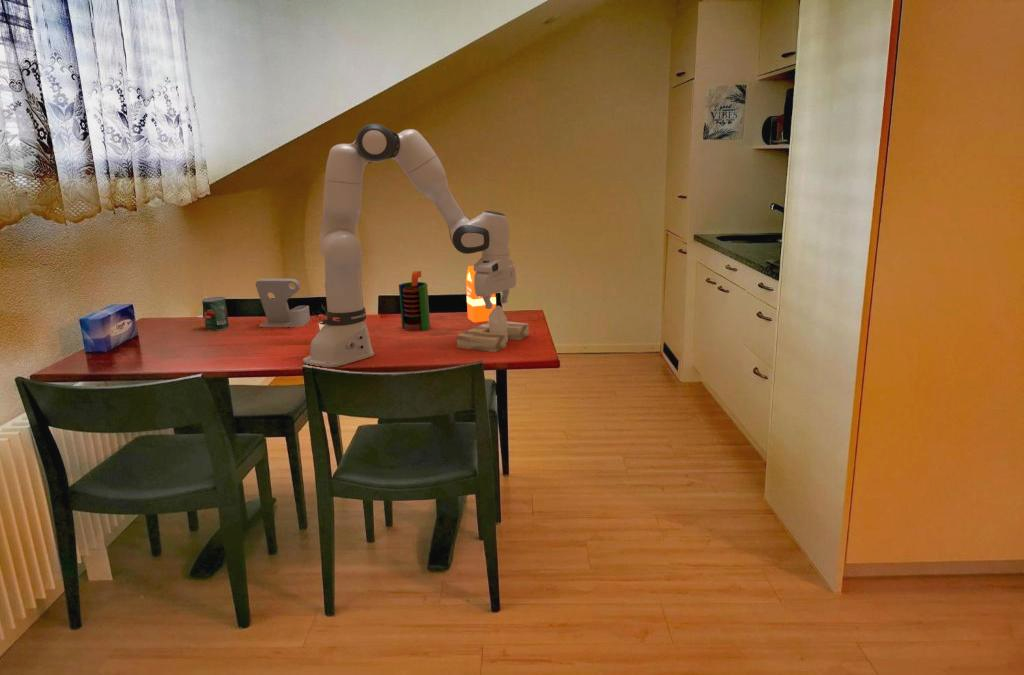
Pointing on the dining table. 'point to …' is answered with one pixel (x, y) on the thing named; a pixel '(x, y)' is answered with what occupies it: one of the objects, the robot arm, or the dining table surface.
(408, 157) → the robot arm
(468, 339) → the notched board
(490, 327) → the grey rounded cylinder
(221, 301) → the canned tomato
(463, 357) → the dining table surface
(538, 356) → the dining table surface
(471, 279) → the orange juice
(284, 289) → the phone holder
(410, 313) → the motor
